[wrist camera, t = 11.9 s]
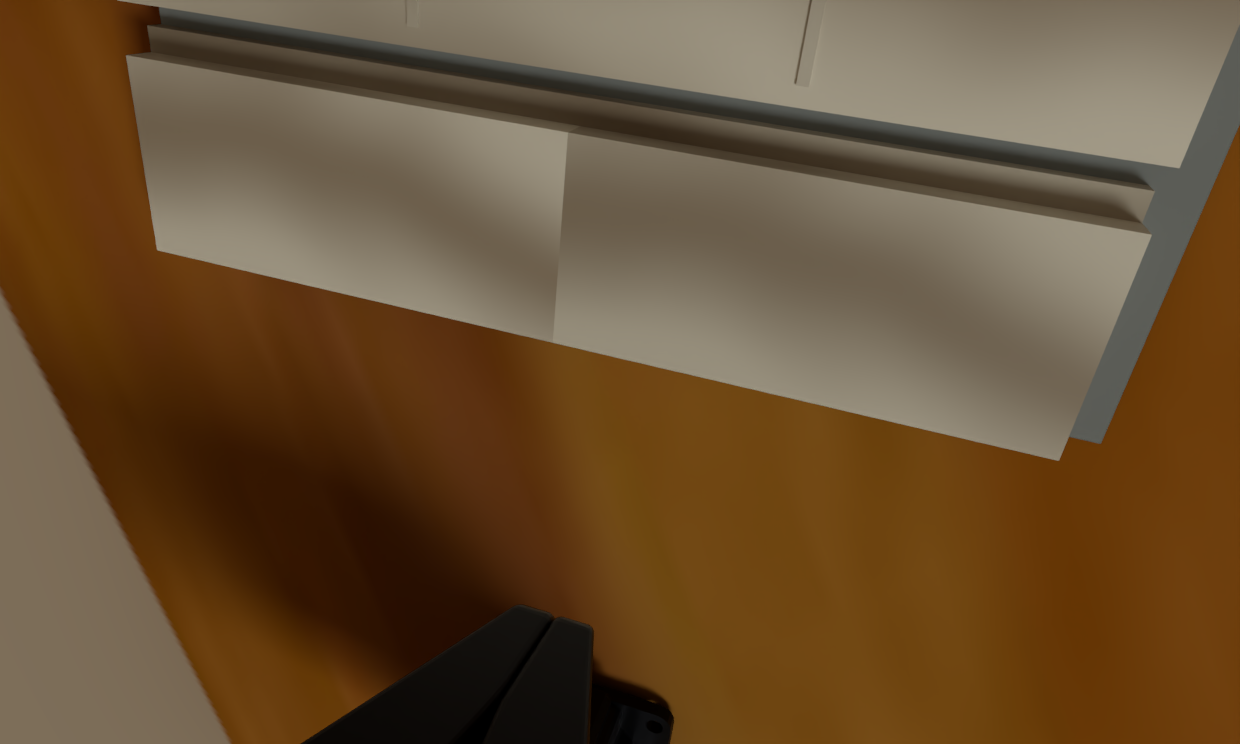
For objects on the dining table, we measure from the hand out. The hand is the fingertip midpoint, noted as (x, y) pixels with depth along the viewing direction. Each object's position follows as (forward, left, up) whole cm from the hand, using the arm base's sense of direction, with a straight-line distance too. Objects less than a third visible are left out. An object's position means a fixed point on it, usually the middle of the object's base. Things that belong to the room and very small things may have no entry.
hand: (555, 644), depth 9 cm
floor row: (+1, +4, -12) cm, 12 cm away
